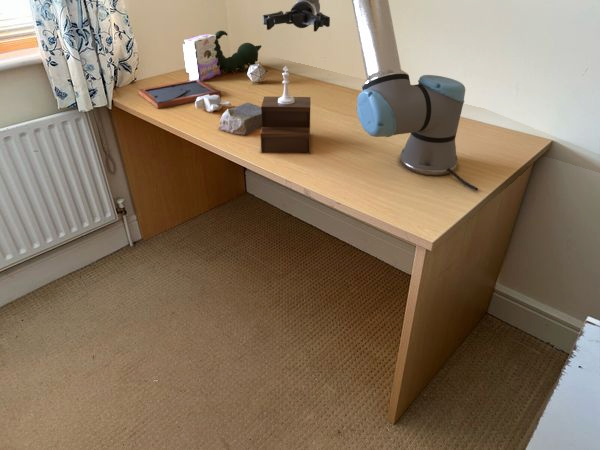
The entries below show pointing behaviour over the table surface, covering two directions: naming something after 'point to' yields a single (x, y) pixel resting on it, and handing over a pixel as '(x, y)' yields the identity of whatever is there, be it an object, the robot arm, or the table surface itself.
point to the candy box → (202, 57)
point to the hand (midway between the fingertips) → (291, 25)
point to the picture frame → (177, 93)
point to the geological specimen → (242, 119)
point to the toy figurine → (236, 55)
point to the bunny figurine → (210, 103)
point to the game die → (256, 73)
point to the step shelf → (285, 126)
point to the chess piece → (286, 89)
